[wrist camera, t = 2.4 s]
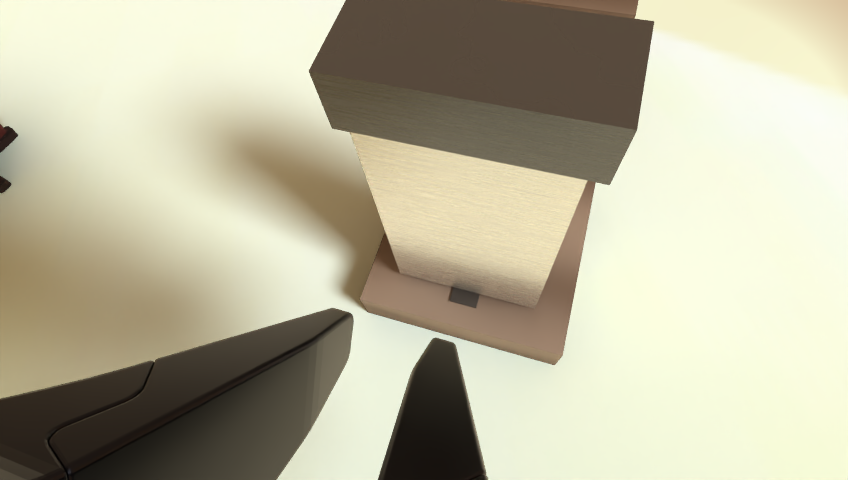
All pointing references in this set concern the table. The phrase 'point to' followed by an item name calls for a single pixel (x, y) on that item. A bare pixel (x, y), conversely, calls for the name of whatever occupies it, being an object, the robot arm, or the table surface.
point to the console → (485, 315)
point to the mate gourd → (3, 138)
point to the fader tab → (482, 127)
